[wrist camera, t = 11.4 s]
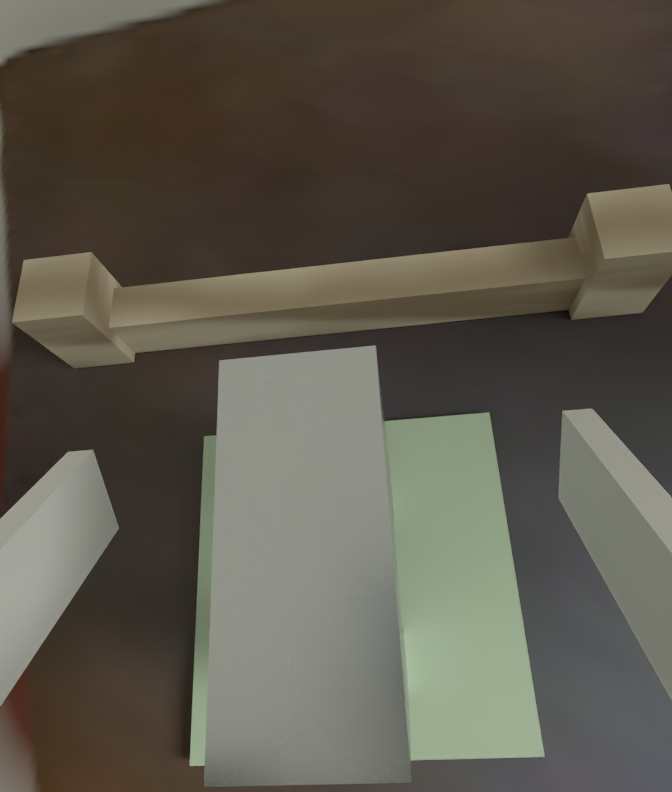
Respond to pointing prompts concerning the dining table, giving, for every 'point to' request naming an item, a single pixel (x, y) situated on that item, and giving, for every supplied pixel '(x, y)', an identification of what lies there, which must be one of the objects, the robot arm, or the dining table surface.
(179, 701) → the dining table surface
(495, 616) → the pad
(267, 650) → the tall grey upright block
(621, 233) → the rail stand
